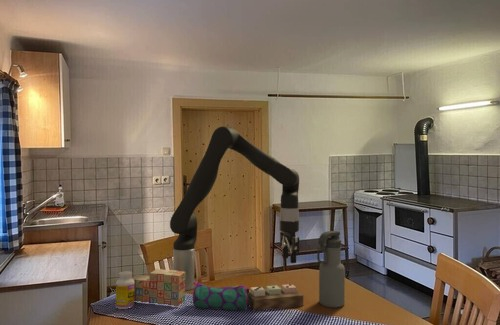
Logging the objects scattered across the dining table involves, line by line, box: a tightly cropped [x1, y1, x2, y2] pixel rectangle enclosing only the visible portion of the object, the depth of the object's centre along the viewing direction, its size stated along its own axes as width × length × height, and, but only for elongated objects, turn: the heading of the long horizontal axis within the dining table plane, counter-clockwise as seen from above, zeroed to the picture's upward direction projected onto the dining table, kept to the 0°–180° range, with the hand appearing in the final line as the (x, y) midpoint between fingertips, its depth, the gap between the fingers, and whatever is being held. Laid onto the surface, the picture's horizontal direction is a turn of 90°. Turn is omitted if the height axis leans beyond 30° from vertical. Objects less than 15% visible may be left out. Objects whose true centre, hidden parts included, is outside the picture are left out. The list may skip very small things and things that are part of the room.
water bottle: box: [316, 230, 346, 309], centre depth 148 cm, size 10×10×28 cm
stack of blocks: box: [131, 268, 186, 306], centre depth 147 cm, size 21×6×12 cm, turn 76°
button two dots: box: [281, 283, 297, 294], centre depth 150 cm, size 4×4×3 cm
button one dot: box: [265, 284, 281, 295], centre depth 148 cm, size 4×4×3 cm
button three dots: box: [250, 285, 265, 297], centre depth 146 cm, size 4×4×3 cm
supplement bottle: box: [115, 270, 135, 310], centre depth 142 cm, size 7×7×13 cm
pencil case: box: [192, 280, 250, 312], centre depth 142 cm, size 21×9×10 cm, turn 85°
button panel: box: [247, 286, 304, 311], centre depth 148 cm, size 20×12×4 cm, turn 107°
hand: (289, 260), depth 150 cm, fingers open, 7 cm apart
